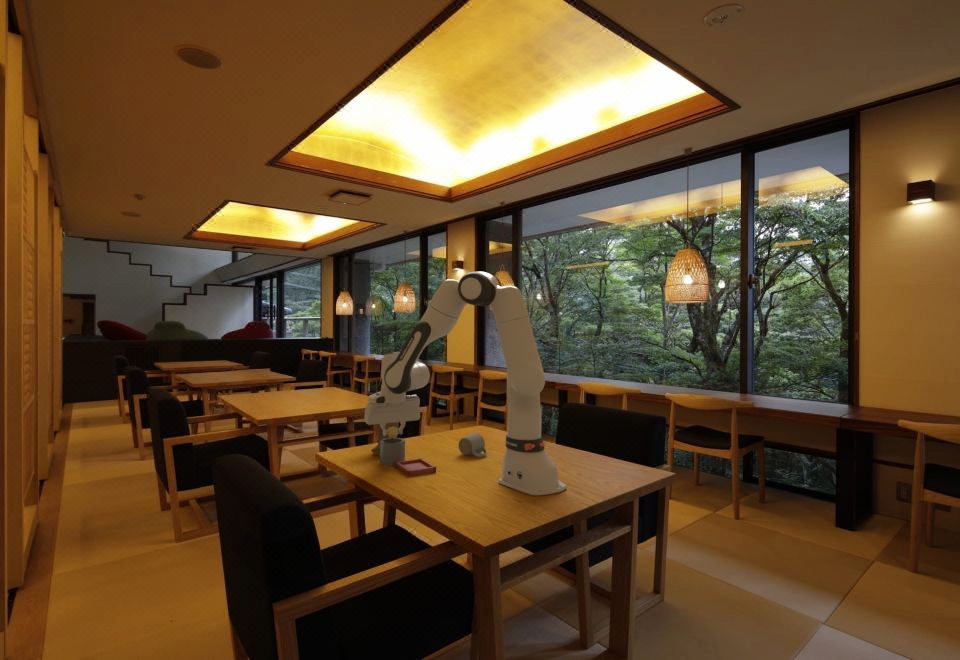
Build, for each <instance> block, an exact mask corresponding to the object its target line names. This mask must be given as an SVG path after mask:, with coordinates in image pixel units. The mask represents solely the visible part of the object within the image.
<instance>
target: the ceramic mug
mask: <svg viewBox="0 0 960 660" xmlns="http://www.w3.org/2000/svg"><path fill="white" fill-rule="evenodd" d="M485 447H486V442H485V439H484V437H483V435H481V434H480V433H479V432H473V433H471V434H469V435H466V436H463V437H461V438H460V440H459V441H458V449H459V452H460V453H461V454H462V455H463V456H466V457H467V456H469V457H470V456H472V455H473V456H474V457H477V458H481V459H482V458H485V457H486V456H487V449H486V448H485Z"/></svg>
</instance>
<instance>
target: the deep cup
mask: <svg viewBox="0 0 960 660" xmlns="http://www.w3.org/2000/svg"><path fill="white" fill-rule="evenodd" d="M405 460H406V440H405V439H403V438H401V437H397V438H385V439H383V440H381V441H380V456H379V464H381V465H382V466H387V467H395V462H398V461H405Z"/></svg>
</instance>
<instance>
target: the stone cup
mask: <svg viewBox="0 0 960 660" xmlns="http://www.w3.org/2000/svg"><path fill="white" fill-rule="evenodd" d="M399 424H400V422H395V423H386V426H384V427H385V429H386V430H388V429H389V428H390V427H396V428H397V429H399V428H400V426H399ZM373 429H374V432H375V435H376V438H377V445H376V446H375V447H373V448H371V450H370V451H371V453H373V454H374V455H376V456H379V457H380V441H381V440H383V439H385V438H390V437H389V436H384V435H383V430H382V428H381V427H380V424H374V425H373ZM395 438H398V436H397V437H395Z"/></svg>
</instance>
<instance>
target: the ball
mask: <svg viewBox="0 0 960 660" xmlns="http://www.w3.org/2000/svg"><path fill="white" fill-rule="evenodd" d="M398 429H399V428H398ZM398 429H397V428H396V427H390V428H389V429H388V431H389V433H388V436H389V437H390V438H395V437H397V438H398V435H399V434H398Z"/></svg>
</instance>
